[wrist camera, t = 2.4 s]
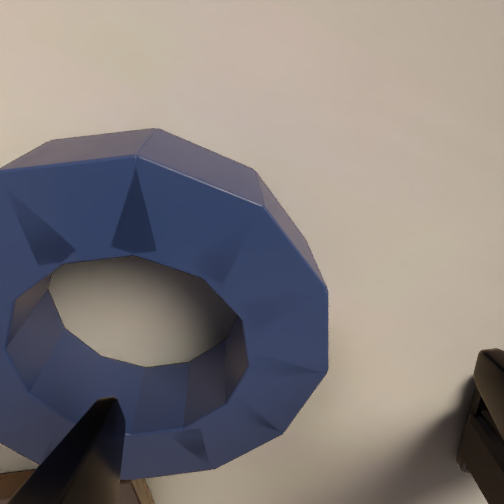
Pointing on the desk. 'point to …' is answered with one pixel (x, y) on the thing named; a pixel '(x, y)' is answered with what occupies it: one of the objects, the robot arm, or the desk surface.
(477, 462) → the robot arm
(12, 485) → the post
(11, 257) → the ring
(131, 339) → the desk surface
